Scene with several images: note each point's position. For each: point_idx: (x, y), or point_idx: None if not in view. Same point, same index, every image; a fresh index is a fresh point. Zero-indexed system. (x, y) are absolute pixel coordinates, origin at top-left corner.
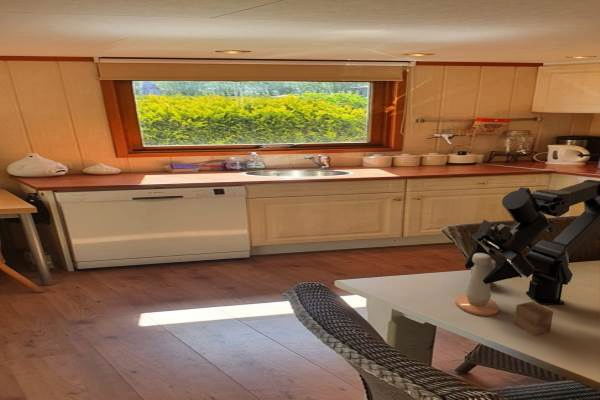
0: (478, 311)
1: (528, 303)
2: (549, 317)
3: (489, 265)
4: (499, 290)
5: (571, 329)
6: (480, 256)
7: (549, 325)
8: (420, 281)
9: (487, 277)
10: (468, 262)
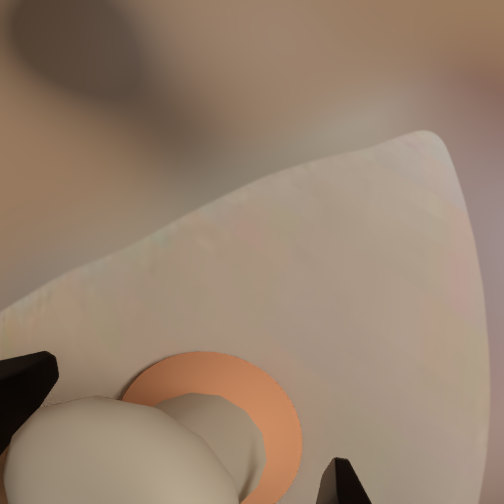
0: (139, 384)
1: (3, 495)
2: None
3: None
4: None
5: None
6: (48, 443)
7: None
8: (470, 344)
9: (15, 360)
10: (336, 490)
